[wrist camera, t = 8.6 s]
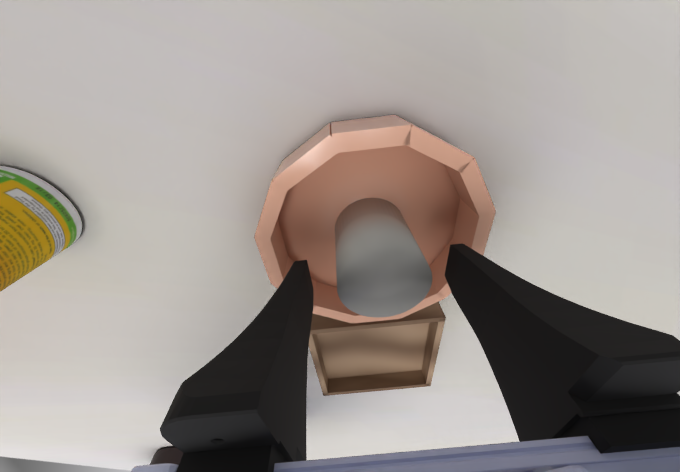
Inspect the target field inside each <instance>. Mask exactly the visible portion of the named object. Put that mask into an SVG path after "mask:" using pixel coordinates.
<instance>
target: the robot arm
mask: <svg viewBox="0 0 680 472" xmlns="http://www.w3.org/2000/svg"><path fill="white" fill-rule="evenodd" d="M445 278H446V280H447V283H448V285H449V288H450V290H451V292H452V294H453V296H454V298H455V299H456V301H457V303H458V305H459V306H460V308H461V310H462V312H463V313H464V315H465V317H466V318H467V320H468V322H469V323H470V325H471V327H472V328H473V330H474V332H475V334H476V336H477V338H478V339H479V341H480V343H481V346H482V348H483V350H484V352H485V354H486V357H487V359H488V361H489V363H490V366H491V368H492V370H493V373H494V375H495V377H496V380H497V382H498V384H499V387H500V389H501V392H502V394H503V397H504V400H505V402H506V405H507V407H508V410H509V413H510V415H511V418H512V421H513V424H514V426H515V429H516V432H517V435H518V438H519V441H520V442H511V443H500V444H488V445H477V446H466V447H454V448H443V449H432V450H420V451H409V452H398V453H386V454H375V455H364V456H352V457H341V458H330V459H318V460H307V461H306V388H307V356H308V346H309V338H310V330H311V322H312V314H313V284H312V280H311V276H310V271H309V267H308V262H307V260H300V261H295V262H294V263H293V264H292V266H291V268H290V270H289V271H288V273H287V275H286V276H285V278H284V280H283V281H282V283H281V284H280V286H279V287H278V289H277V290H276V292H275V293H274V295H273V296H272V298H271V299H270V300H269V302H268V303H267V304H266V306H265V307H264V308H263V309H262V311H261V312H260V313H259V314H258V316H257V317H256V318H255V319H254V320H253V321H252V322H251V324H250V325H249V326H248V327H247V328H246V329H245V330H244V331H243V332H242V333H241V334H240V335H239V336H238V337H237V338H236V339H235V340H234V341H233V342H232V343H231V344H230V345H229V346H227V347H226V348H225V349H224V350H223V351H222V352H221V353H220V354H218V355H217V356H216V357H215V358H214V359H212V360H211V361H210V362H209V363H208V364H206V365H205V366H204V367H202V368H201V369H200V370H199V371H197V372H196V373H195V374H193V375H192V376H191V377H189V378H188V379H187V380H185V381H184V382H183V383H182V385H181V386H180V388H179V390H178V392H177V394H176V396H175V398H174V400H173V402H172V404H171V406H170V408H169V411H168V413H167V415H166V417H165V419H164V421H163V423H162V425H161V428H160V431H161V434H162V436H163V437H164V438H165V439H166V440H167V441H168V442H169V443H171V444H172V445H173V446H175V447H176V448H178V449H179V450H180V451H182V452H183V455H182V458H181V461H180V463H179V465H177V464H171V463H165V464H154V465H143V466H136V467H134V468H133V469H132V471H131V472H680V396H679V395H678V394H677V392H678V391H680V341H679V340H678V339H677V338H675V337H674V336H672V335H669V334H666V333H663V332H659V331H656V330H652V329H649V328H646V327H642V326H639V325H636V324H632V323H629V322H626V321H623V320H620V319H617V318H614V317H611V316H608V315H605V314H602V313H599V312H597V311H594V310H591V309H589V308H586V307H583V306H581V305H578V304H576V303H573V302H571V301H568V300H566V299H563V298H561V297H559V296H557V295H554V294H552V293H550V292H548V291H546V290H544V289H541V288H539V287H537V286H535V285H533V284H531V283H529V282H527V281H525V280H524V279H522V278H520V277H518V276H516V275H514V274H512V273H511V272H509V271H507V270H506V269H504V268H502V267H500V266H499V265H497V264H495V263H494V262H492V261H491V260H489V259H487V258H486V257H484V256H483V255H481V254H479V253H478V252H476V251H475V250H473V249H471V248H470V247H468V246H466V245H465V244H463V243H462V244H452V245H450V248H449V254H448V259H447V264H446V270H445Z"/></svg>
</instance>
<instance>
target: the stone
mask: <svg viewBox="0 0 680 472" xmlns="http://www.w3.org/2000/svg"><path fill="white" fill-rule="evenodd" d="M335 250H336V275H337V292H338V296H339V298H340V300H341V302H342V303H343V304H344V305H345V306H346V307H347V308H348V309H349V310H351V311H353V312H355V313H357V314H359V315H363V316H367V317H389V316H394V315H398V314H401V313H403V312H406V311H408V310H410V309H412V308H413V307H415V306H416V305H417V304H419V303H420V302H421V301H422V300H423V299H424V298H425V296H426V295H427V294H428V292H429V290H430V288H431V285H432V272H431V269H430V267H429V265H428V263H427V261H426V259H425V257H424V255H423V253H422V251H421V250H420V248H419V246H418V244H417V242H416V240H415V238H414V236H413V234H412V233H411V231H410V229H409V227H408V225H407V223H406V221H405V219H404V217H403V216H402V214H401V212H400V210H399V209H398V208H397V207H396V206H395V205H394V204H393V203H391V202H389V201H387V200H384V199H381V198H364V199H360V200H357V201H355V202H353V203H351V204H350V205H348V206H347V207H346V208H345V209H344V210H343V211H342V212H341V213H340V215H339V216H338V218H337V220H336V224H335Z"/></svg>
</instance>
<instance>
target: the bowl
mask: <svg viewBox="0 0 680 472" xmlns="http://www.w3.org/2000/svg"><path fill="white" fill-rule="evenodd" d="M364 198H381V199H384V200H387V201H389V202H391V203H393V204H394V205H395V206H396V207H397V208H398V209H399V210H400V212H401V214H402V216H403V217H404V219H405V221H406V223H407V225H408V227H409V229H410V231H411V233H412V234H413V236H414V238H415V240H416V242H417V244H418V246H419V248H420V250H421V251H422V253H423V255H424V257H425V259H426V261H427V263H428V265H429V267H430V269H431V272H432V285H431V288H430V290H429V292H428V294H427V295H426V296H425V298H424V299H423V300H422V301H421V302H420V303H419V304H417V305H416V306H415V307H413V308H412V309H410V310H408V311H406V312H403V313H401V314H398V315H394V316H389V317H367V316H363V315H359V314H357V313H355V312H353V311H351V310H349V309H348V308H347V307H346V306H345V305H344V304H343V303H342V302H341V300H340V298H339V296H338V292H337V275H336V250H335V224H336V220H337V218H338V216H339V215H340V213H341V212H342V211H343V210H344V209H345V208H346V207H347V206H348V205H350V204H351V203H353V202H355V201H357V200H360V199H364ZM495 211H496V210H495V208H494V205H493V203H492V200H491V197H490V195H489V192H488V190H487V187H486V185H485V182H484V180H483V177H482V175H481V172H480V170H479V167H478V165H477V162H476V160H475V158H474V157H473V156H471V155H469V154H467V153H466V152H464V151H462V150H460V149H459V148H457V147H455V146H453V145H451V144H450V143H448V142H446V141H444V140H442V139H440V138H439V137H437V136H435V135H433V134H431V133H429V132H427V131H425V130H423V129H422V128H420V127H418V126H416V125H414V124H412V123H410V122H408V121H406V120H405V119H403V118H401V117H399V116H397V115H387V116H379V117H370V118H362V119H353V120H345V121H336V122H331V124H330V123H329V124H327V125H326V126H325V127H324V128H322V129H321V130H320V131H319V132H317V133H316V134H315V135H314V136H312V137H311V138H310V139H309V140H307V141H306V142H305V143H304V144H302V145H301V146H300V147H299V148H298V149H296V150H295V151H294V152H293V153H291V154H290V155H289V156H288V157H286V158H285V159H284V160H283V161H282V162H281V164H280V166H279V168H278V170H277V172H276V173H275V175H274V177H273V179H272V181H271V184H270V187H269V191H268V194H267V197H266V200H265V203H264V207H263V210H262V213H261V216H260V220H259V223H258V226H257V229H256V233H255V237H254V238H255V241H256V243H257V246H258V249H259V252H260V255H261V257H262V260H263V263H264V266H265V268H266V271H267V274H268V277H269V280H270V282H271V284H273V285H274V286H275V287H276V288H278V287H279V286H280V284H281V283H282V281H283V280H284V278H285V276H286V275H287V273H288V271H289V270H290V268H291V266H292V264H293V263H294V262H295V261H300V260H307V262H308V267H309V271H310V276H311V280H312V284H313V314H317V315H321V316H325V317H329V318H333V319H337V320H341V321H344V322H348V323H363V322H373V321H383V320H393V319H400V318H403V317H405V316H408V315H410V314H412V313H414V312H416V311H419V310H421V309H423V308H425V307H427V306H430V305H432V304H434V303H436V302H438V301H441V300H443V299H445V298H446V297H447V296H448V295H449V294H450V293H451V290H450V288H449V285H448V283H447V280H446V278H445V270H446V264H447V259H448V254H449V248H450V245H452V244H462V243H463V244H465V245H466V246H468V247H470V248H471V249H473V250H475V251H476V252H478V253H479V254H481V255H483V254H484V250H485V247H486V243H487V240H488V237H489V233H490V230H491V226H492V223H493V219H494V216H495V213H496V212H495Z"/></svg>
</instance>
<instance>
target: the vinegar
mask: <svg viewBox="0 0 680 472" xmlns="http://www.w3.org/2000/svg"><path fill="white" fill-rule="evenodd" d="M182 455H183V452H182V451H180V450H179V449H178V448H176V447H167V448H163V449H160V450H158V451H157V452H156V453H155V455H154V457H153V459H152V461H151V463H150V465H154V464H165V463H171V464H177V465H179V463H180V461H181V458H182Z"/></svg>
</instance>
